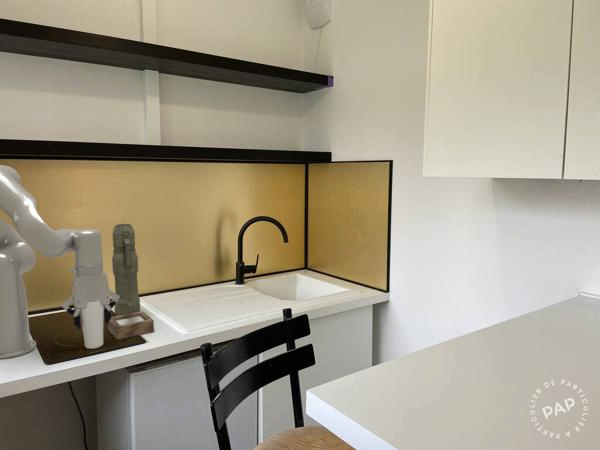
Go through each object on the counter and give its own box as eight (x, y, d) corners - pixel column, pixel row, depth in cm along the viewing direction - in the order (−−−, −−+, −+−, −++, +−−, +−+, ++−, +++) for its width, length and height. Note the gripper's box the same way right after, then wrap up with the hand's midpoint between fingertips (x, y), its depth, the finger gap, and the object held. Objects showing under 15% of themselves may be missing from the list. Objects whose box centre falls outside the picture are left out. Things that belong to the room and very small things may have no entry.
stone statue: (121, 324, 158) (116, 227, 154) (110, 316, 167) (105, 224, 163) (146, 318, 164) (141, 225, 160) (133, 311, 173) (129, 222, 168)
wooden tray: (116, 340, 143) (116, 327, 143) (108, 329, 153) (107, 317, 152) (154, 332, 150) (153, 320, 150) (143, 322, 160) (142, 311, 159)
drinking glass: (103, 340, 143) (100, 295, 141) (108, 346, 138) (105, 300, 136) (80, 345, 139) (77, 298, 137) (84, 352, 134) (81, 304, 132)
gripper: (59, 276, 127) (63, 334, 129) (122, 268, 137) (125, 322, 140) (55, 271, 133) (59, 327, 135) (116, 264, 143) (119, 316, 146)
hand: (92, 324), depth 137 cm, fingers open, 7 cm apart
